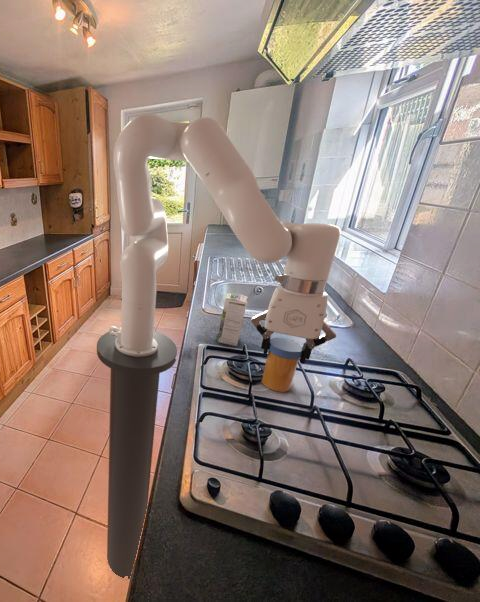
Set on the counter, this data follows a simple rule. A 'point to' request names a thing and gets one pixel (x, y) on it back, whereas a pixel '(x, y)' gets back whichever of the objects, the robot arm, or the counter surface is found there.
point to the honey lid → (285, 348)
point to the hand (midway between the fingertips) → (283, 355)
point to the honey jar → (279, 372)
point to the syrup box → (232, 319)
